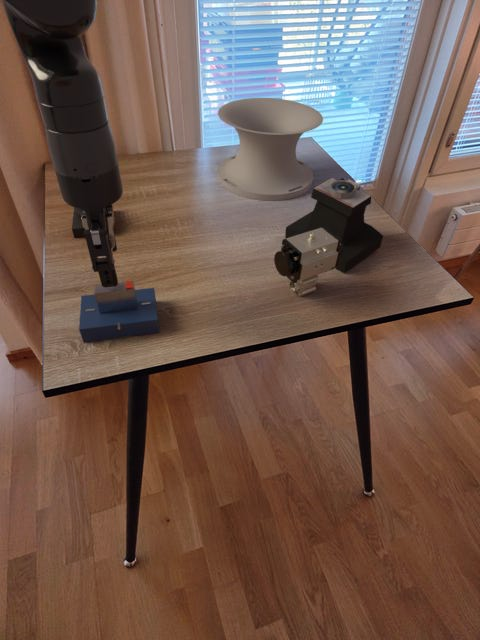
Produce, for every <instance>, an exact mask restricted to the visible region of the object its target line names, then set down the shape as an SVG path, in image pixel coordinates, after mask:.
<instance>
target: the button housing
mask: <svg viewBox="0 0 480 640" xmlns="http://www.w3.org/2000/svg"><path fill="white" fill-rule="evenodd" d="M81 215H84V214H83V210H81V209H79V208H75V207H73V215H72V224H71V231H72V235H73V238H74V239H78V238H85V237H84V230H85V228H84V227H83V225H82V219H81ZM114 228H115V227H114ZM114 228H113V230H114V231H115V229H114Z"/></svg>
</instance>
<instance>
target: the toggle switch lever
mask: <svg viewBox="0 0 480 640" xmlns="http://www.w3.org/2000/svg"><path fill="white" fill-rule="evenodd" d="M93 288H94V289H93V295H95V299H96V303H97V306H98V310H99V313H107V312H115V311H124V310H132V309H138V306H137V297H136V292H135V290H136V287H135V282H134V280H126V281H123V282H118V285H117V286H114V287H103V286H102V284H95V285H94V286H93Z"/></svg>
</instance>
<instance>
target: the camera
mask: <svg viewBox="0 0 480 640" xmlns="http://www.w3.org/2000/svg"><path fill="white" fill-rule="evenodd" d="M360 188H361V184H359V183H357V182H355V181H353V180H350V179H348V178H347V179H344V178H342V177H341V178H340V179H338V180H337V179H335V178H334V177H331V178H328V179H327V180H326V181H324V182H322V183H320V184H318V185H317V186H314V187H313V189H312V191H311V195H310V198H311V199H313V200H315V201H316V203H315V205H314V208H313V210H312V211H310V212H308V213H307V214H305V215H303V216H302V217H300V218H299V219H297V220H295V221H293V222H292V223H290V224H289V225H287V226H286V227H285V233H284V235H285V237H284V239H286V238H289V237H293V236H296V235H299V234H302V233H306V232H309V231H312V230H315V229H318V228H322V227H325V228H326V229H328V230H329V231H330V232H332V233H333V234H335V235H337V236H338V237H339V238H340V239H341V241H342V243H343V254H342V256H341V257H340V258H339V262H338V266H336V267H334V269H336V270H338V271H339V272H341V273H343V274H346V273H347V272H348V271H350V270H351V269H353V268H354V267H356V266H357V265H359V263H360V262H362V261H363V260H365V259H366V258H367V257H370V255H372V254H373V253H374V252H376V251H377V250H378V249H380V248H381V246H382V243H383V239H384V235H383V234H382V233H381V232H380V231H378V230H377V229H376V228H374V226H372V225H370V224H369V223H367V222H365V212H366V209H367V207H368V206H369V205H372V195H370V194H368V193H366V192H364V191H362V190H360Z"/></svg>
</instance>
